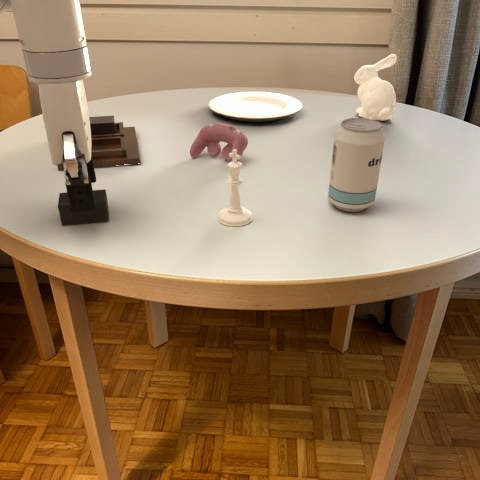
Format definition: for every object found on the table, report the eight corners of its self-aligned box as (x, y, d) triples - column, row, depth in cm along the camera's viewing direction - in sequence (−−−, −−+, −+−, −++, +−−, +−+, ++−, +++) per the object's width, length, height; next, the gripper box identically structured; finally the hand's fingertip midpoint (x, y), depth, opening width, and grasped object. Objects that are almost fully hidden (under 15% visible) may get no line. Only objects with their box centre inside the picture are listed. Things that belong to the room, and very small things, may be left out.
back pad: (61, 225, 74) (57, 205, 72) (63, 211, 78) (59, 192, 76) (109, 221, 75) (105, 201, 73) (108, 208, 79) (105, 189, 77)
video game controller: (244, 171, 94) (254, 131, 93) (231, 167, 90) (241, 125, 89) (200, 160, 99) (209, 121, 97) (186, 155, 95) (195, 115, 93)
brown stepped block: (58, 170, 90) (53, 146, 88) (63, 137, 104) (59, 115, 102) (140, 164, 93) (138, 140, 90) (135, 132, 107) (132, 111, 104)
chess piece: (233, 208, 79) (233, 141, 73) (259, 218, 76) (260, 149, 70) (210, 219, 76) (208, 150, 70) (236, 230, 73) (236, 159, 67)
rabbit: (345, 110, 120) (352, 52, 113) (382, 106, 122) (391, 49, 115) (372, 126, 111) (382, 63, 103) (411, 122, 113) (423, 60, 106)
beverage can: (364, 219, 76) (378, 135, 69) (320, 208, 79) (328, 126, 71) (379, 201, 81) (393, 121, 74) (336, 192, 84) (346, 113, 76)
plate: (304, 101, 125) (304, 93, 124) (298, 129, 109) (299, 119, 108) (217, 97, 128) (217, 89, 127) (199, 124, 111) (199, 114, 110)
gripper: (33, 52, 70) (61, 175, 81) (17, 82, 57) (53, 226, 67) (90, 48, 71) (111, 171, 82) (88, 77, 58) (113, 220, 68)
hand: (84, 196), depth 74 cm, fingers open, 9 cm apart
